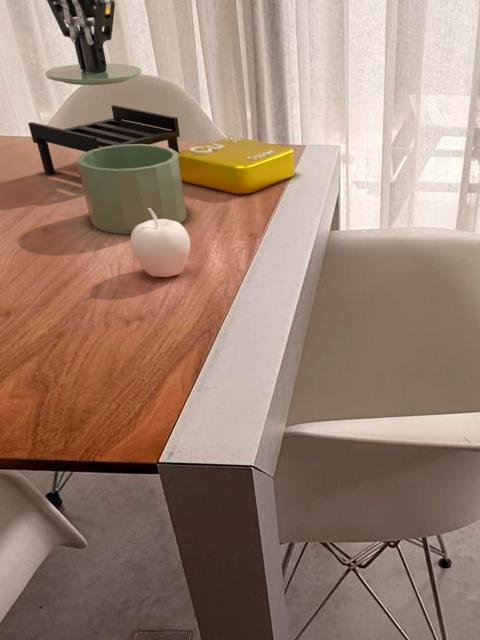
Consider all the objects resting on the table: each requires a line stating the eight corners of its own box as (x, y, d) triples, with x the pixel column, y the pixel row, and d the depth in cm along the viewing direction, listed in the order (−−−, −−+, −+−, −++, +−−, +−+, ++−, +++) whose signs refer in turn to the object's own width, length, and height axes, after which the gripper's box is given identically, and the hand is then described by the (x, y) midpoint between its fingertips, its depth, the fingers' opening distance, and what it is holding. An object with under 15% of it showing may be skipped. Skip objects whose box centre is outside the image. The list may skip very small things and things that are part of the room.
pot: (136, 241, 94) (123, 176, 89) (72, 220, 100) (56, 158, 94) (205, 214, 103) (197, 154, 97) (143, 197, 109) (132, 139, 103)
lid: (88, 91, 103) (79, 47, 99) (27, 79, 109) (16, 38, 105) (161, 78, 112) (155, 37, 109) (101, 67, 118) (94, 29, 115)
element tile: (244, 196, 110) (242, 165, 107) (175, 180, 116) (171, 150, 113) (299, 174, 120) (298, 145, 117) (233, 161, 126) (230, 132, 122)
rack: (103, 191, 110) (92, 137, 105) (41, 174, 117) (27, 122, 112) (184, 167, 122) (177, 117, 117) (123, 152, 129) (114, 104, 124)
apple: (126, 270, 86) (113, 205, 81) (177, 257, 90) (167, 194, 85) (152, 288, 82) (139, 221, 77) (204, 274, 86) (195, 209, 81)
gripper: (13, -69, 99) (46, 69, 110) (76, -66, 93) (104, 79, 105) (57, -69, 104) (84, 63, 115) (119, -66, 98) (141, 72, 109)
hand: (93, 70), depth 110 cm, fingers closed on lid, 2 cm apart
